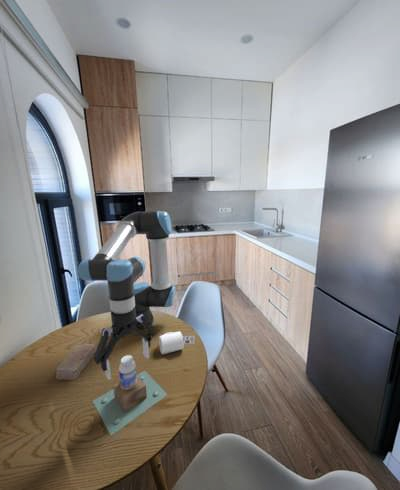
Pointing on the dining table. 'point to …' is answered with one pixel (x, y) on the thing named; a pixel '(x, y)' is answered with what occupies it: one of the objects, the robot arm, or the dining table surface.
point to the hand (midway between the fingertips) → (128, 366)
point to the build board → (116, 416)
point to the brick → (75, 362)
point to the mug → (171, 342)
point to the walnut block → (130, 395)
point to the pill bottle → (127, 372)
